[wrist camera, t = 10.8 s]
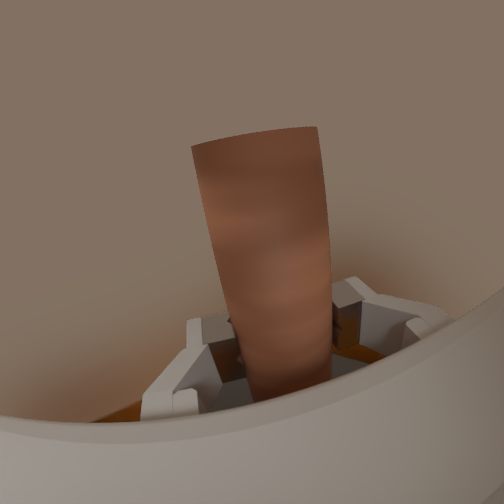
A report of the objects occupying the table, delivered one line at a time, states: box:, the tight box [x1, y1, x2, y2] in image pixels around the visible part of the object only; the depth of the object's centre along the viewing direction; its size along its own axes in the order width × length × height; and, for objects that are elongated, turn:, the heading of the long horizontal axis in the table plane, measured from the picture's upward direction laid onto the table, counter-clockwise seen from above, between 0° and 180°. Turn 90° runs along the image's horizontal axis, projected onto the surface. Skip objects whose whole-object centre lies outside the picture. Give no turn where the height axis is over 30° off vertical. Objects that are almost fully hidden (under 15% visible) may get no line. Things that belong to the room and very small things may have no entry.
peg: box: [191, 127, 332, 403], centre depth 9 cm, size 3×3×14 cm
